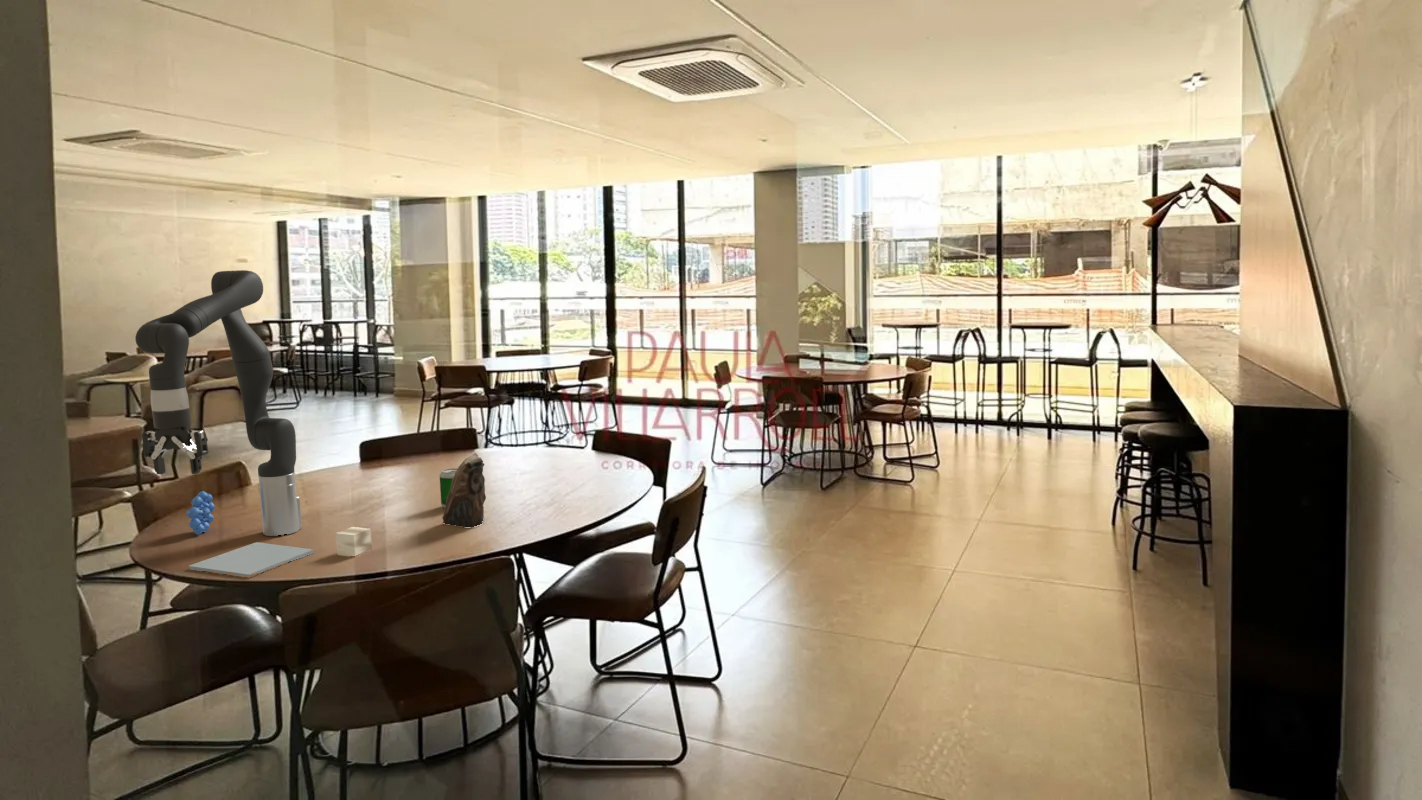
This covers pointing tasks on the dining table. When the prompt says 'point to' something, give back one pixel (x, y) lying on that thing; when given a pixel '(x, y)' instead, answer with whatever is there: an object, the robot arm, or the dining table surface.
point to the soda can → (446, 483)
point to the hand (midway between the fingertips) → (178, 473)
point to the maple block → (353, 541)
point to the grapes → (201, 512)
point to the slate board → (251, 559)
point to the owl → (466, 494)
